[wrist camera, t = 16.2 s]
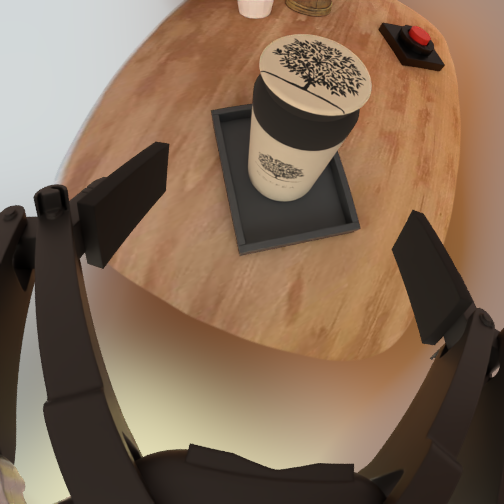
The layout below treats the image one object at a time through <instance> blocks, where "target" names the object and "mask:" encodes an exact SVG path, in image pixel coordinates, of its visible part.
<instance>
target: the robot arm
mask: <svg viewBox="0 0 504 504" xmlns="http://www.w3.org/2000/svg"><path fill="white" fill-rule="evenodd" d="M168 154H169V144H168V143H161V142H155V143H153V144H152V145H150V146H149V147H147V148H146V149H144V150H143V151H142V152H140V153H139V154H137V155H136V156H135V157H133V158H132V159H130V160H129V161H128V162H126V163H125V164H124V165H122V166H121V167H120V168H118V169H117V170H116V171H114V172H113V173H112V174H110V175H109V176H108V177H102V178H100V179H98V180H95V181H93V182H92V183H91V184H90V185H88V186H87V188H85V189H83V190H82V191H81V192H80V193H79V194H77V195H76V196H75V197H74V198H73V199H71V200H70V201H69V198H68V190H67V188H66V187H65V186H63V185H58V184H56V185H50V186H47V187H44V188H42V189H40V190H39V191H38V192H37V193H35V195H34V202H35V206H36V211H37V216H38V217H26V213H25V209H24V207H22V206H19V205H18V206H17V205H15V206H10V207H8V208H6V209H4V210H3V211H2V212H1V213H0V504H26V502H25V499H24V497H23V493H22V492H23V491H24V490H25V482H24V480H23V478H22V477H21V476H20V475H19V473H18V471H17V469H16V467H15V466H14V461H15V450H16V401H17V384H18V372H19V362H20V354H21V347H22V340H23V334H24V328H25V323H26V318H27V313H28V308H29V303H30V299H31V295H32V291H33V287H34V283H35V304H36V319H37V331H38V341H39V349H40V357H41V363H42V369H43V375H44V381H45V386H46V391H47V401H46V402H45V403H44V406H43V412H44V418H45V423H46V426H47V430H48V434H49V437H50V440H51V444H52V447H53V450H54V453H55V456H56V459H57V462H58V465H59V468H60V471H61V473H62V476H63V478H64V481H65V484H66V486H67V488H68V491H69V493H70V495H71V496H70V497H67V498H65V499H63V500H61V501H59V502H57V503H54V504H504V328H503V329H502V330H501V332H499V331H498V330H496V329H495V325H494V322H493V320H492V318H491V317H490V315H489V314H488V313H487V312H486V311H484V310H483V309H481V308H476V306H475V304H474V301H473V299H472V297H471V295H470V293H469V291H468V290H467V287H466V285H465V284H464V281H463V279H462V277H461V275H460V274H459V272H458V271H457V269H456V267H455V265H454V263H453V261H452V260H451V258H450V256H449V254H448V253H447V251H446V249H445V248H444V246H443V244H442V242H441V241H440V239H439V237H438V236H437V234H436V232H435V231H434V229H433V228H432V226H431V225H430V223H429V221H428V220H427V218H426V217H425V215H424V214H423V213H420V212H418V211H415V210H412V212H411V214H410V216H409V218H408V220H407V222H406V224H405V226H404V228H403V230H402V231H401V233H400V235H399V237H398V239H397V241H396V242H395V244H394V246H393V248H392V251H393V254H394V257H395V259H396V262H397V265H398V267H399V270H400V273H401V276H402V279H403V281H404V284H405V287H406V290H407V293H408V296H409V299H410V303H411V306H412V309H413V312H414V315H415V319H416V322H417V326H418V329H419V333H420V337H421V340H422V343H423V344H430V345H435V344H436V343H437V342H438V341H439V340H440V339H441V338H442V337H443V336H444V339H445V344H444V345H443V346H442V347H441V348H440V349H439V350H438V351H437V352H436V353H435V354H434V355H433V356H432V357H431V358H430V359H431V360H432V359H433V358H435V360H434V362H433V364H432V366H431V368H430V370H429V372H428V374H427V376H426V378H425V380H424V382H423V384H422V385H421V387H420V389H419V391H418V393H417V394H416V396H415V398H414V399H413V401H412V403H411V405H410V406H409V408H408V410H407V411H406V413H405V415H404V416H403V418H402V419H401V421H400V422H399V424H398V426H397V427H396V428H395V430H394V431H393V433H392V434H391V436H390V437H389V439H388V440H387V441H386V443H385V444H384V446H383V447H382V449H381V450H380V451H379V452H378V454H377V455H376V457H375V458H374V459H373V460H372V462H370V463H369V464H368V465H367V466H366V467H365V468H363V469H362V470H360V471H359V472H358V473H355V472H354V464H325V463H317V464H312V465H306V466H301V467H294V468H288V469H281V470H275V469H271V468H268V467H266V466H263V465H260V464H258V463H255V462H252V461H250V460H247V459H245V458H243V457H241V456H238V455H236V454H234V453H230V452H225V451H220V450H215V449H211V448H206V447H202V446H198V445H194V444H190V445H189V449H188V450H187V449H176V450H166V451H160V452H156V453H153V454H150V455H147V456H145V457H143V456H142V454H141V452H140V450H139V448H138V446H137V444H136V442H135V439H134V438H133V435H132V433H131V432H130V429H129V428H128V426H127V423H126V421H125V419H124V416H123V414H122V412H121V409H120V406H119V404H118V401H117V399H116V396H115V393H114V391H113V388H112V385H111V382H110V379H109V376H108V373H107V370H106V367H105V364H104V361H103V357H102V354H101V351H100V347H99V344H98V340H97V337H96V333H95V329H94V325H93V321H92V317H91V312H90V308H89V303H88V299H87V294H86V289H85V284H84V279H83V273H82V267H81V262H80V258H81V256H82V255H83V254H84V253H85V254H86V258H87V263H88V264H90V265H93V266H96V267H99V268H102V269H104V267H105V266H106V264H107V263H108V262H109V260H110V259H111V258H112V256H113V255H114V254H115V252H116V251H117V250H118V248H119V247H120V246H121V245H122V243H123V242H124V241H125V239H126V238H127V237H128V236H129V234H130V233H131V232H132V231H133V229H134V228H135V227H136V226H137V224H138V223H139V222H140V221H141V220H142V218H143V217H144V216H145V215H146V214H147V212H148V211H149V210H150V209H151V208H152V206H153V205H154V204H155V203H156V202H157V201H158V199H159V198H160V197H161V196H162V195H163V194H164V192H165V191H166V180H167V166H168ZM499 366H500V368H499V371H498V373H497V374H496V375H495V376H494V377H492V373H493V372H494V371H495V370H496V369H497V368H498V367H499Z"/></svg>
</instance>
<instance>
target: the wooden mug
mask: <svg viewBox="0 0 504 504" xmlns="http://www.w3.org/2000/svg"><path fill="white" fill-rule="evenodd" d="M286 4H287V5H288V6H289V7H290V8H291V9H293V10H295V11H297V12H300V13H303V14H306V15H312V16H324V15H328V14H329V13H330V11H331V7H332V1H331V0H286Z"/></svg>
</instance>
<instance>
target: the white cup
mask: <svg viewBox="0 0 504 504" xmlns="http://www.w3.org/2000/svg"><path fill="white" fill-rule="evenodd" d="M273 1H274V0H238V7H239V12H240V14H242V15H243V16H245V17H248V18H255V19H256V18H264V17H267V16H268V15H269V14H270V12H271V9H272V5H273Z"/></svg>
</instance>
